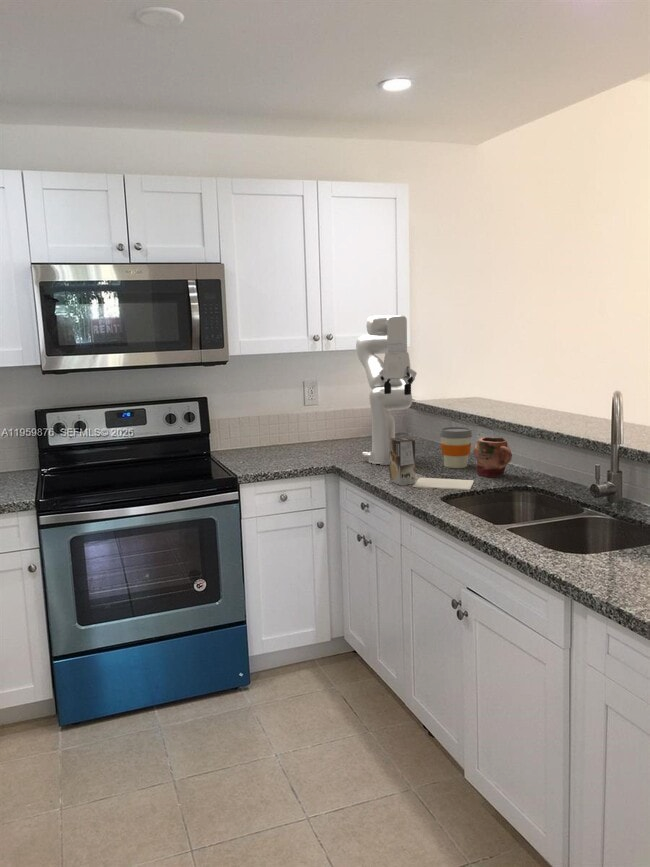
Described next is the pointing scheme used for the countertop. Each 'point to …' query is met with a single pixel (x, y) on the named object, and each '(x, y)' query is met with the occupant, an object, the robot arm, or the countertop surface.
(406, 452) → the coffee box
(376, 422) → the robot arm
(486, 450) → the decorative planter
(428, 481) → the mat
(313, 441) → the countertop surface
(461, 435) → the reusable coffee cup
